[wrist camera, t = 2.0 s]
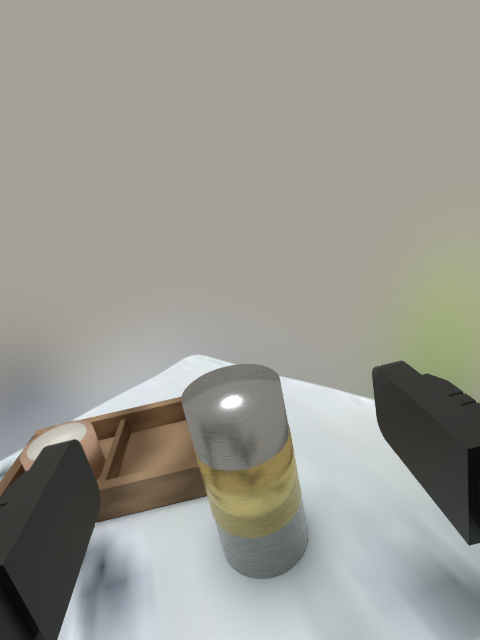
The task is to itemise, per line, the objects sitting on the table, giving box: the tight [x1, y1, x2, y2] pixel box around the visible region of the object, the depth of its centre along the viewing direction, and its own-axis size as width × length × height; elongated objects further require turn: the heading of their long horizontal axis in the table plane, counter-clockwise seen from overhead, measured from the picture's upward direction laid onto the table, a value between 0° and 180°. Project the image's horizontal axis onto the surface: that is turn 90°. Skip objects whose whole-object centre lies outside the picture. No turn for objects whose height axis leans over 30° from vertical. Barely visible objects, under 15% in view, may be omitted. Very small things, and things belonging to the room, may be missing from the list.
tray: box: [0, 397, 207, 522], centre depth 35 cm, size 20×12×3 cm, turn 96°
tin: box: [181, 364, 308, 578], centre depth 24 cm, size 6×6×12 cm
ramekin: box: [20, 420, 106, 481], centre depth 35 cm, size 6×6×4 cm
